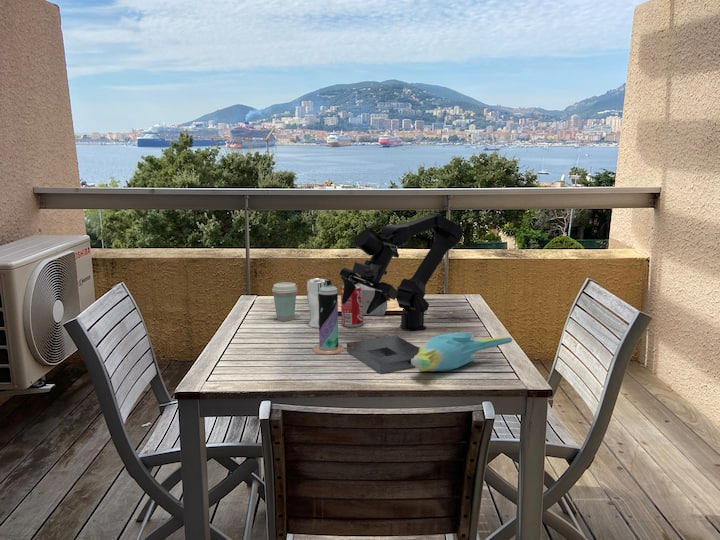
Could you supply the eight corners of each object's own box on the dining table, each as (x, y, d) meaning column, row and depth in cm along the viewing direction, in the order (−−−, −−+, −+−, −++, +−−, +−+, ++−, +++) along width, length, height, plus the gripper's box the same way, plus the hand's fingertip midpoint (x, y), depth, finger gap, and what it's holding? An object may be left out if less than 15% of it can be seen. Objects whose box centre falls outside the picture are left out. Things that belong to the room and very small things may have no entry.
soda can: (360, 328, 197) (360, 289, 195) (339, 327, 199) (338, 288, 196) (365, 322, 204) (364, 284, 202) (344, 321, 206) (343, 283, 203)
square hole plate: (395, 343, 183) (395, 335, 182) (432, 363, 165) (432, 355, 165) (346, 351, 176) (346, 342, 175) (380, 373, 158) (380, 364, 158)
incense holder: (355, 316, 212) (354, 286, 210) (361, 310, 220) (361, 281, 218) (382, 318, 209) (382, 288, 207) (388, 311, 217) (388, 283, 215)
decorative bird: (393, 372, 160) (393, 338, 158) (473, 348, 177) (474, 317, 175) (430, 388, 149) (430, 352, 147) (511, 362, 166) (512, 329, 164)
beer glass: (332, 323, 204) (331, 279, 201) (324, 328, 197) (323, 283, 194) (312, 321, 206) (311, 277, 203) (304, 327, 199) (303, 282, 196)
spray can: (318, 350, 175) (316, 282, 171) (320, 344, 180) (319, 278, 176) (337, 351, 174) (336, 282, 171) (339, 345, 180) (338, 278, 176)
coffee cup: (303, 317, 210) (302, 283, 208) (287, 323, 203) (286, 288, 201) (283, 314, 215) (282, 280, 212) (267, 320, 208) (266, 285, 205)
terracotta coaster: (336, 342, 183) (336, 341, 183) (349, 351, 175) (349, 350, 175) (308, 347, 179) (308, 345, 179) (320, 356, 171) (320, 355, 171)
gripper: (343, 243, 183) (318, 288, 180) (393, 260, 173) (368, 308, 170) (358, 259, 192) (335, 302, 189) (407, 276, 182) (384, 322, 179)
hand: (354, 308), depth 181 cm, fingers open, 9 cm apart
